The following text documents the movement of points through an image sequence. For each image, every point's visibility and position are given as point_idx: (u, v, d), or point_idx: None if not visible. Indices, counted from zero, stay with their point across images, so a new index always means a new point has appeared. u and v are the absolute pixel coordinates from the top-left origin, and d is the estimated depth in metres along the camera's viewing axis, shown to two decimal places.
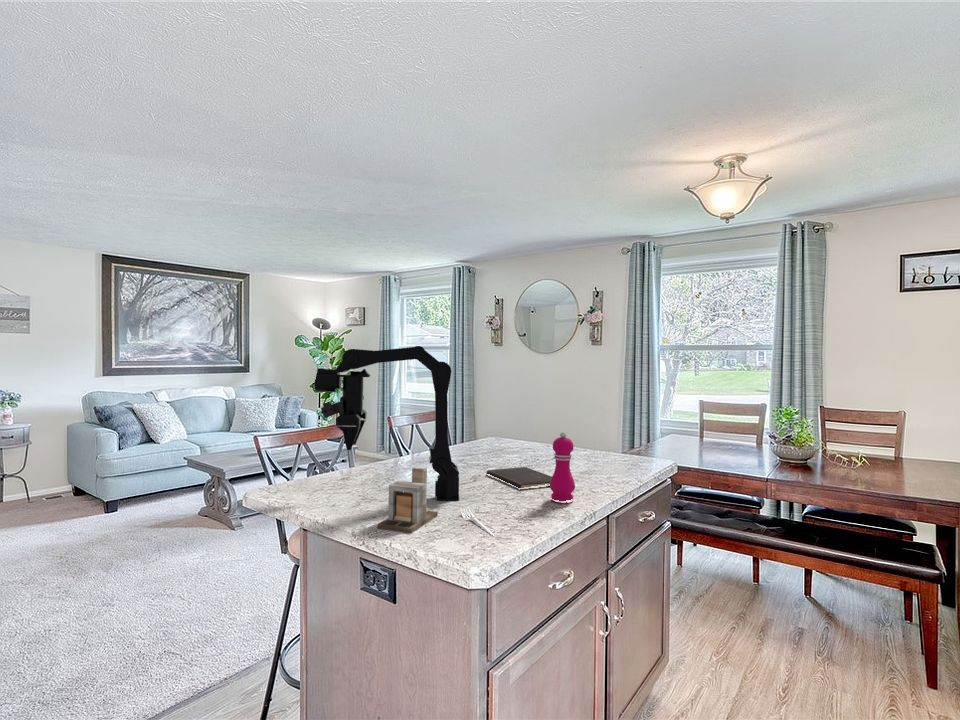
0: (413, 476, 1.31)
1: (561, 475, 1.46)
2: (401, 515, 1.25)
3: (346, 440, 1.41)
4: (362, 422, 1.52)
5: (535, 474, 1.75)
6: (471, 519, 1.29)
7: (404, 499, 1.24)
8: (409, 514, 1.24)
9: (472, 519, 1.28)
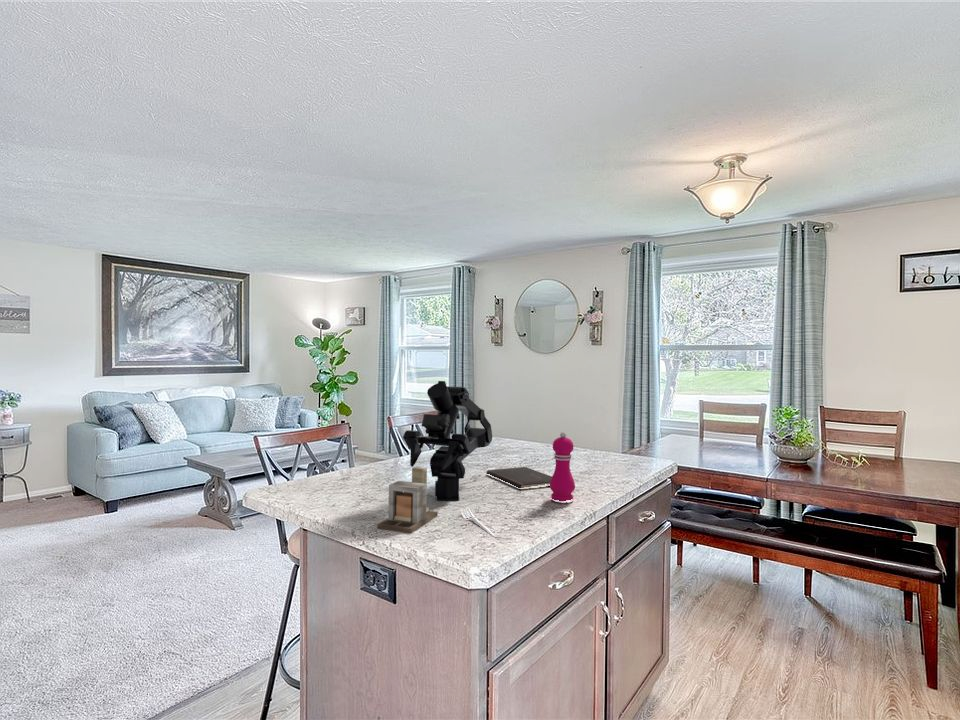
0: (413, 476, 1.31)
1: (561, 475, 1.46)
2: (401, 515, 1.25)
3: (448, 459, 1.36)
4: (420, 451, 1.44)
5: (535, 474, 1.75)
6: (471, 519, 1.29)
7: (404, 499, 1.24)
8: (409, 514, 1.24)
9: (472, 519, 1.28)
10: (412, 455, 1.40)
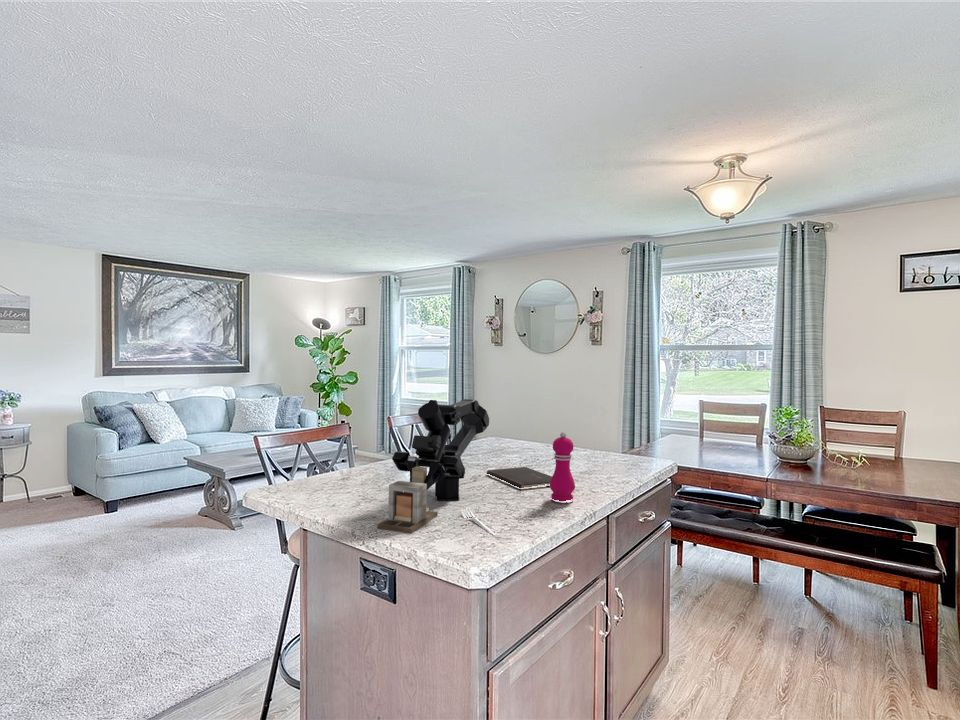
0: (413, 476, 1.31)
1: (561, 475, 1.46)
2: (401, 515, 1.25)
3: (429, 481, 1.32)
4: None
5: (535, 474, 1.75)
6: (472, 519, 1.29)
7: (404, 499, 1.24)
8: (409, 514, 1.24)
9: (473, 519, 1.28)
10: (411, 479, 1.33)
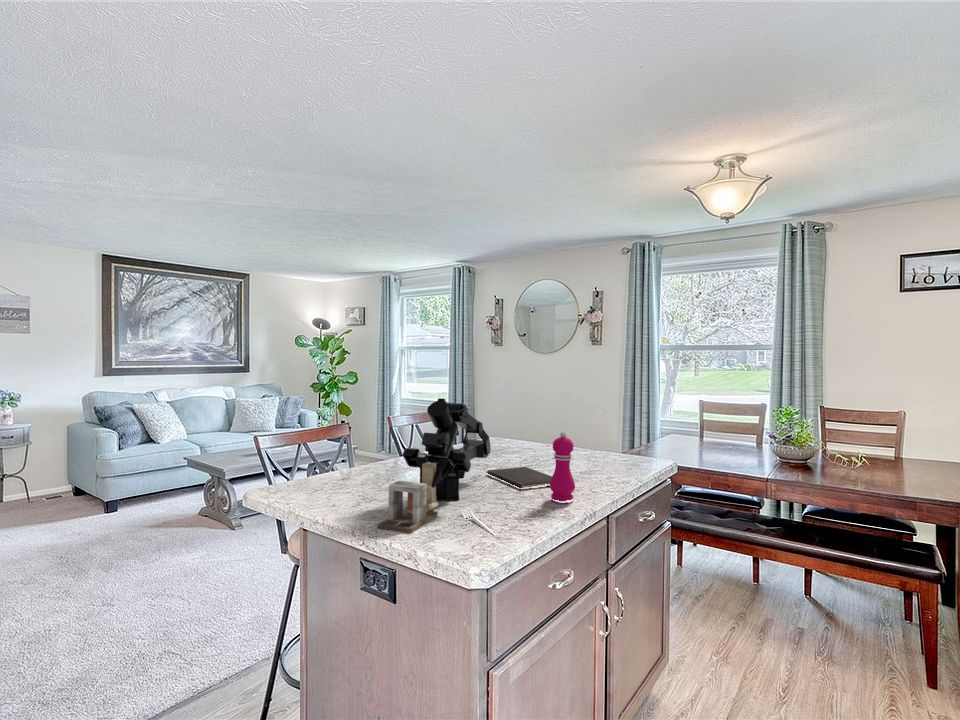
0: (423, 472, 1.37)
1: (561, 475, 1.46)
2: (412, 509, 1.30)
3: (438, 476, 1.37)
4: None
5: (535, 474, 1.75)
6: (472, 519, 1.29)
7: None
8: None
9: (473, 519, 1.28)
10: None
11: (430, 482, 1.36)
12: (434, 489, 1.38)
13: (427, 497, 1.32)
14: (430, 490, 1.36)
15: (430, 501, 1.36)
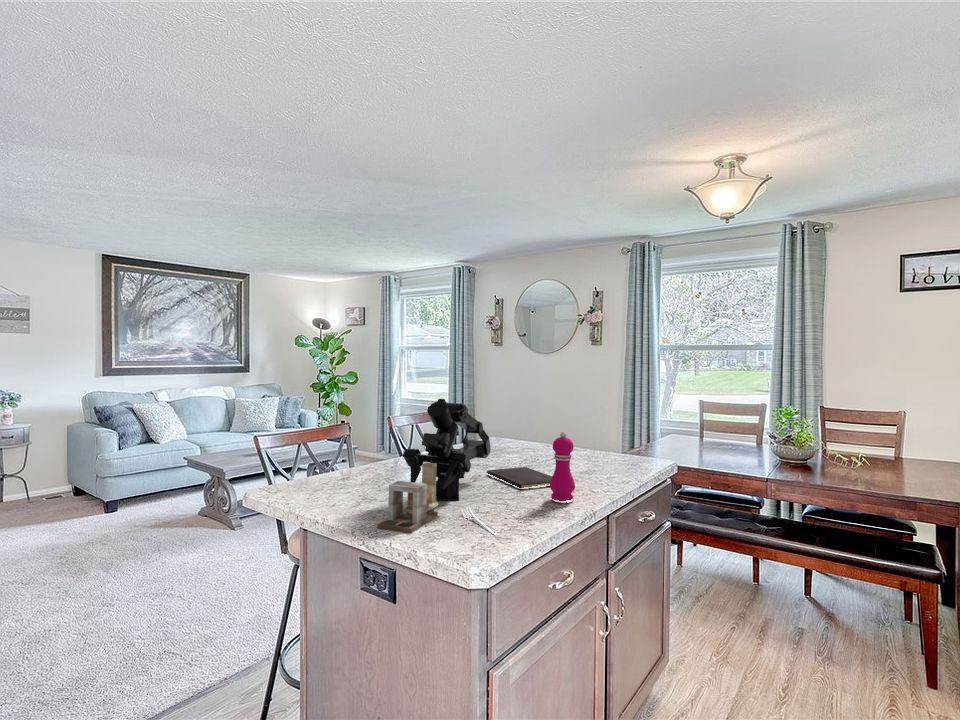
0: (423, 471, 1.37)
1: (561, 475, 1.46)
2: (412, 509, 1.30)
3: (448, 478, 1.36)
4: (420, 469, 1.44)
5: (535, 474, 1.75)
6: (472, 519, 1.29)
7: None
8: None
9: (473, 519, 1.28)
10: (412, 474, 1.39)
11: (430, 482, 1.36)
12: (434, 489, 1.38)
13: (427, 497, 1.32)
14: (430, 490, 1.36)
15: (430, 501, 1.36)
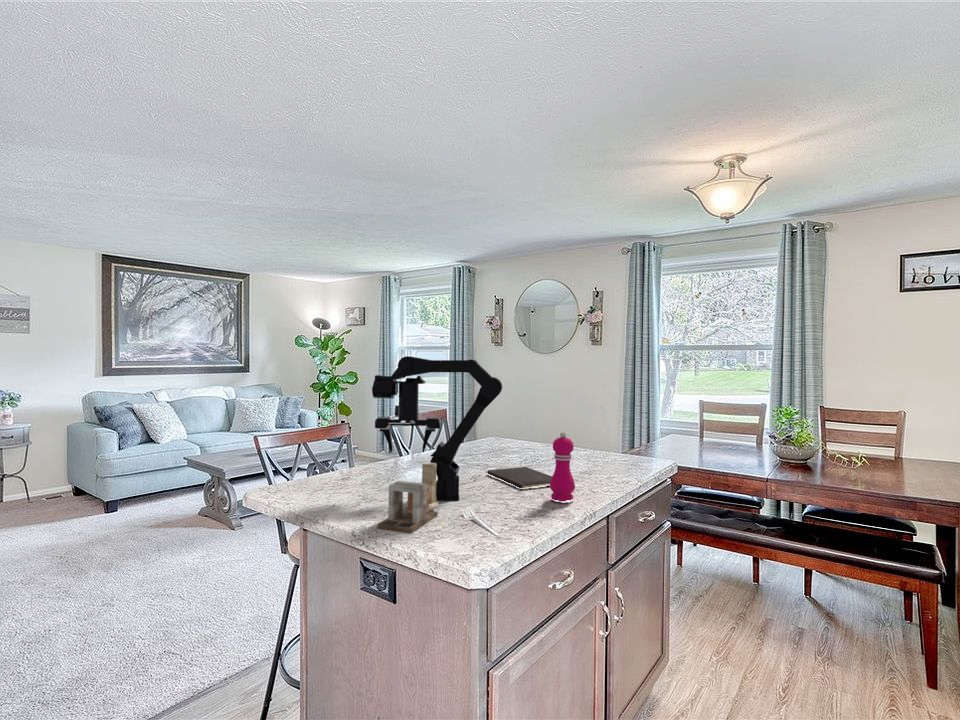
0: (423, 471, 1.37)
1: (562, 475, 1.46)
2: (412, 509, 1.30)
3: None
4: (425, 431, 1.49)
5: (536, 474, 1.75)
6: (473, 519, 1.29)
7: None
8: None
9: (474, 519, 1.29)
10: None
11: (430, 482, 1.36)
12: (434, 489, 1.38)
13: (427, 497, 1.32)
14: (430, 490, 1.36)
15: (430, 501, 1.36)
